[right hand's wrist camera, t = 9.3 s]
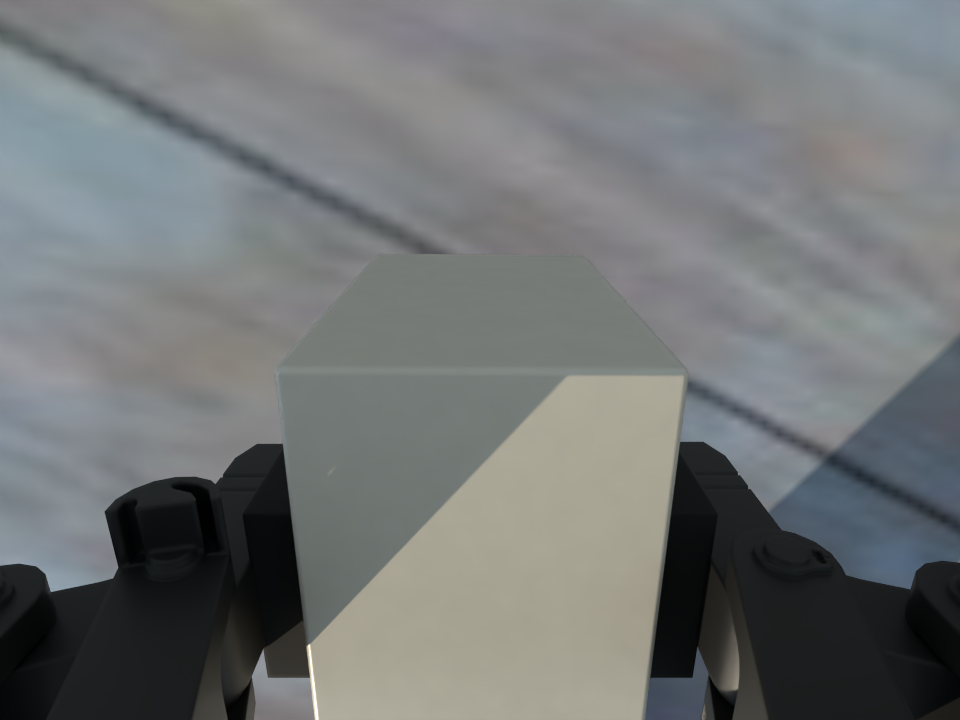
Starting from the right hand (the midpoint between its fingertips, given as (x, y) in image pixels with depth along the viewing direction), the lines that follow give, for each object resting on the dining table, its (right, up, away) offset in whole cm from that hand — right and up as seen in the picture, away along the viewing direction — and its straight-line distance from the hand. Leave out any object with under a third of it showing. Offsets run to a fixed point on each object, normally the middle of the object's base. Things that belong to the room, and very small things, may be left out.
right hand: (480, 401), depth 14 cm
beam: (0, -9, +3) cm, 10 cm away
